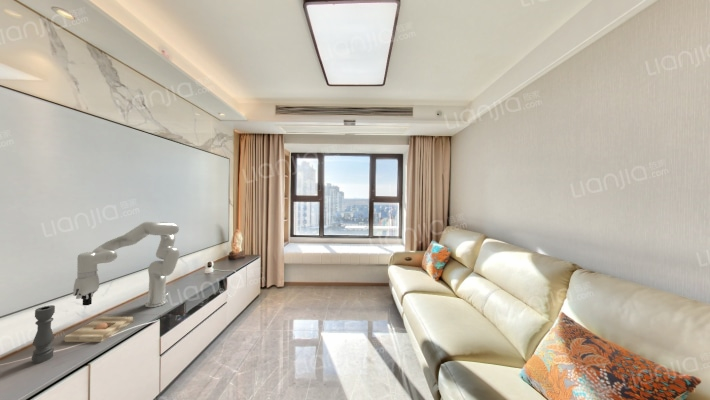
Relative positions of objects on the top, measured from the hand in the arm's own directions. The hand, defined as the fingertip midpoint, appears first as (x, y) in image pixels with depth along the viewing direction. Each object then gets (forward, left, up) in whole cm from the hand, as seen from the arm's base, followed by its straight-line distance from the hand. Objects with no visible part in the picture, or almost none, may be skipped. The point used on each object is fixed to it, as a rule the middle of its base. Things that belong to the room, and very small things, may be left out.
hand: (87, 304), depth 133 cm
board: (+1, +9, -15) cm, 18 cm away
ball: (+1, +9, -13) cm, 16 cm away
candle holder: (+24, +4, -15) cm, 28 cm away
